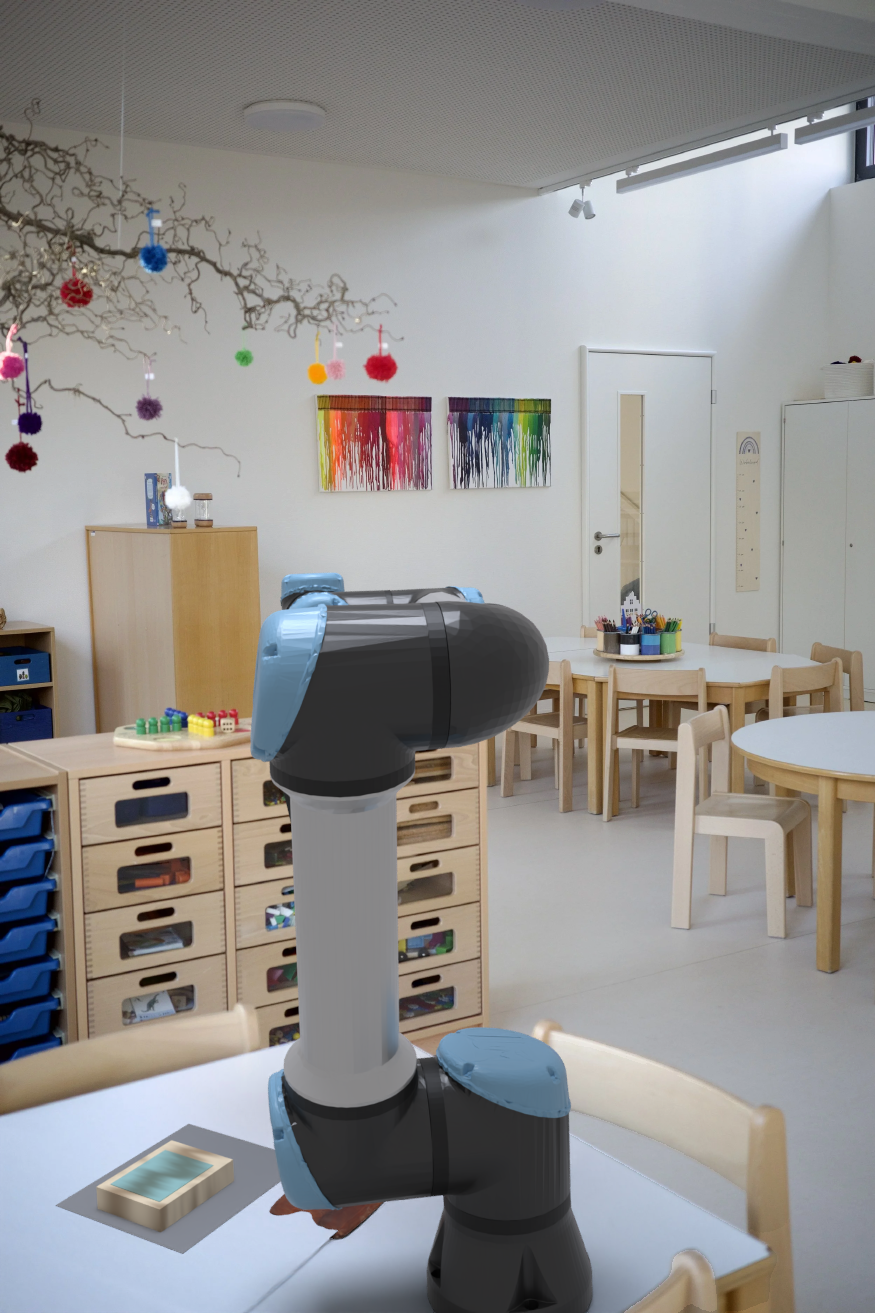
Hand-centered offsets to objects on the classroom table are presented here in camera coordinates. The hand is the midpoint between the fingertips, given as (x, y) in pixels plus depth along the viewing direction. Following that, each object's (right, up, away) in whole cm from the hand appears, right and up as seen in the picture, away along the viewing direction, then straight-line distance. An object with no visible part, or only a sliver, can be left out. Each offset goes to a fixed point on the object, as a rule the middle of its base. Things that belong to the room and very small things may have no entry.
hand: (326, 895), depth 145 cm
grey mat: (-14, -28, -16) cm, 35 cm away
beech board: (-12, -26, -13) cm, 32 cm away
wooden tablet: (+6, -28, -13) cm, 32 cm away
